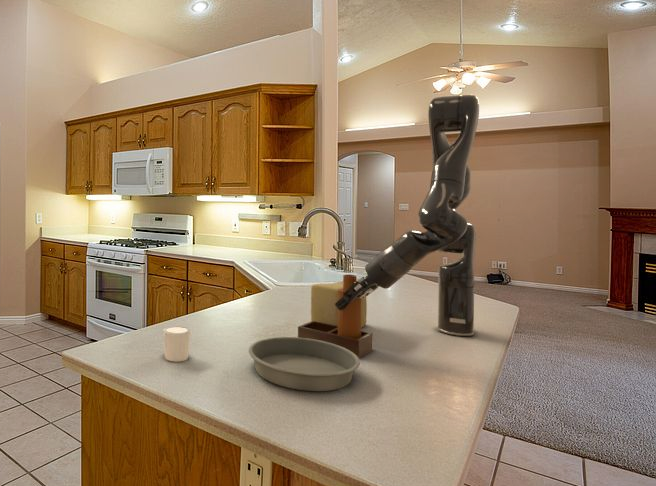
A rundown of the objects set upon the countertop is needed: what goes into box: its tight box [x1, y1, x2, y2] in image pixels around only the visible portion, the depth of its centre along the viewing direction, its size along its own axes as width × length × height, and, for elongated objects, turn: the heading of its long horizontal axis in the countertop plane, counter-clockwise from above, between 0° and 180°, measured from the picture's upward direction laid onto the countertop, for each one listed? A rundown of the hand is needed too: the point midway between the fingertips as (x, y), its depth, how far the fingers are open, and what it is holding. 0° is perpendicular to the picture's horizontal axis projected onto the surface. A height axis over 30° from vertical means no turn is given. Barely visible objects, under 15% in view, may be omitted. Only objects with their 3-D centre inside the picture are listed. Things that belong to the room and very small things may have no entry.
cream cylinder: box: [162, 325, 191, 363], centre depth 112 cm, size 7×7×7 cm
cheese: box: [310, 278, 368, 328], centre depth 137 cm, size 22×10×15 cm, turn 128°
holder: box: [297, 321, 373, 359], centre depth 122 cm, size 9×17×5 cm, turn 46°
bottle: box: [338, 274, 362, 339], centre depth 119 cm, size 6×6×16 cm
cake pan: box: [248, 336, 361, 392], centre depth 103 cm, size 25×25×4 cm
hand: (343, 305), depth 120 cm, fingers closed on bottle, 6 cm apart
